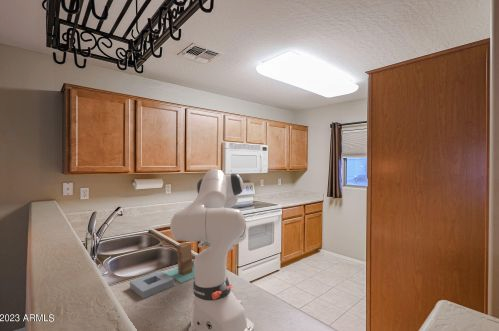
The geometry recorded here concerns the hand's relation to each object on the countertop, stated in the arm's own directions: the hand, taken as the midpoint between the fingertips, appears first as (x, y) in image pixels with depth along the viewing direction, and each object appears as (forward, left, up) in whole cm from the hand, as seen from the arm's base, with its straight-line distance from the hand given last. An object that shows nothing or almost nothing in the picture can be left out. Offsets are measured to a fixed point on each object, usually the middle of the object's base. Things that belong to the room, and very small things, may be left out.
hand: (203, 247), depth 130 cm
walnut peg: (0, +12, -9) cm, 15 cm away
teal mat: (0, +12, -9) cm, 15 cm away
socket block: (0, +29, -9) cm, 30 cm away
